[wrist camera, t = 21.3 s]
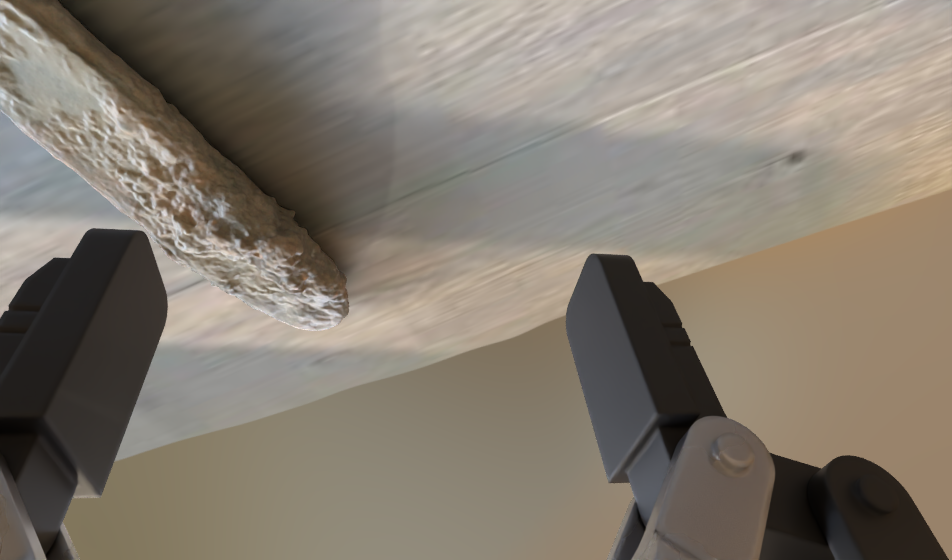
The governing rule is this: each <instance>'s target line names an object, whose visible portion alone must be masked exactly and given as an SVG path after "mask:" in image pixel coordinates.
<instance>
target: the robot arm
mask: <svg viewBox="0 0 952 560" xmlns="http://www.w3.org/2000/svg"><path fill="white" fill-rule="evenodd" d="M167 308H168V303H167V294H166V290H165V287H164V284H163V281H162V278H161V275H160V272H159V269H158V266H157V263H156V260H155V257H154V254H153V251H152V248H151V245H150V242H149V240H148V237H147V235H146V234H145V233H144V232H143V231H138V230H117V229H96V228H93V229H90V230H88V231H87V232H86V233H85V235H84V236H83V238H82V239H81V241H80V243H79V244H78V246H77V248H76V250H75V251H74V253H73V255H72V256H71V258H53V259H52V260H51V261H49V262H48V263H47V264H45V265H44V266H43V267H41V268H40V269H39V270H38V271H36V272H35V273H34V274H32V275H31V276H30V277H28V278H27V279H26V280H25V281H24V283H23V284H22V286H21V287H20V289H19V290H18V292H17V293H16V295H15V297H14V298H13V300H12V301H11V303H10V304H9V310H8V311H5V312H4V313H3V315H2V317H1V318H0V560H80V558H79V556H78V554H77V552H76V550H75V547H74V545H73V543H72V541H71V539H70V536H69V534H68V532H67V529H66V527H65V526H64V524H63V519H64V517H65V514H66V512H67V510H68V507H69V505H70V502H71V500H72V498H96V497H101V495H102V492H103V490H104V487H105V484H106V482H107V479H108V476H109V474H110V471H111V468H112V466H113V463H114V460H115V458H116V455H117V452H118V450H119V447H120V444H121V442H122V439H123V436H124V434H125V431H126V428H127V425H128V423H129V420H130V417H131V415H132V412H133V409H134V407H135V404H136V401H137V399H138V396H139V393H140V391H141V388H142V385H143V383H144V380H145V377H146V375H147V372H148V369H149V367H150V364H151V361H152V359H153V356H154V353H155V351H156V348H157V345H158V342H159V340H160V337H161V334H162V332H163V329H164V326H165V323H166V318H167ZM566 330H567V336H568V340H569V343H570V347H571V350H572V354H573V357H574V361H575V365H576V368H577V372H578V375H579V379H580V382H581V386H582V389H583V393H584V397H585V400H586V404H587V407H588V411H589V415H590V418H591V422H592V425H593V429H594V432H595V436H596V440H597V443H598V447H599V450H600V453H601V457H602V461H603V464H604V468H605V472H606V475H607V479H608V482H609V483H630V485H631V488H632V491H633V494H634V498H633V499H632V500H631V502H630V504H629V506H628V508H627V511H626V513H625V516H624V519H623V521H622V523H621V526H620V528H619V531H618V533H617V536H616V538H615V541H614V543H613V545H612V548H611V551H610V553H609V555H608V558H607V560H949V559H948V558H947V556H946V554H945V553H944V551H943V549H942V548H941V546H940V544H939V543H938V542H937V539H936V538H935V536H934V535H933V533H932V531H931V530H930V528H929V526H928V525H927V523H926V521H925V520H924V518H923V516H922V515H921V513H920V512H919V510H918V508H917V507H916V505H915V503H914V502H913V500H912V498H911V497H910V495H909V494H908V492H907V491H906V490H905V489H904V487H903V486H902V485H901V484H900V483H899V482H898V481H897V480H896V479H895V478H894V477H893V476H892V475H891V474H889V473H888V472H887V471H886V470H884V469H883V468H881V467H880V466H878V465H876V464H874V463H872V462H871V461H868V460H866V459H864V458H860V457H856V456H850V455H849V456H840V457H837V458H835V459H833V460H832V461H831V462H829V463H828V464H827V465H826V466H824V467H823V468H822V469H821V468H818V467H814V466H811V465H808V464H804V463H801V462H797V461H794V460H791V459H788V458H784V457H781V456H778V455H774V454H772V453H769V451H768V450H767V448H766V447H765V445H764V444H763V443H762V441H761V440H760V439H759V438H758V437H757V436H756V435H755V434H754V433H753V432H752V431H750V430H749V429H748V428H747V427H745V426H743V425H742V424H740V423H738V422H736V421H734V420H732V419H729V418H727V416H726V414H725V413H724V411H723V409H722V407H721V405H720V402H719V400H718V398H717V396H716V394H715V392H714V390H713V388H712V386H711V384H710V381H709V379H708V377H707V375H706V373H705V371H704V369H703V367H702V365H701V363H700V360H699V358H698V356H697V354H696V352H695V350H694V348H693V346H690V342H691V341H690V339H689V337H688V335H687V333H686V331H685V329H684V328H682V322H681V320H680V318H679V316H678V314H677V312H676V310H675V307H674V305H673V303H672V302H671V300H670V299H669V298H668V297H667V296H666V295H665V294H664V293H663V292H662V291H661V290H660V289H659V288H658V287H657V286H656V285H655V284H654V283H653V282H643V280H642V278H641V276H640V274H639V271H638V269H637V267H636V265H635V262H634V260H633V259H632V258H631V257H630V256H628V255H611V254H591V255H589V256H588V258H587V260H586V262H585V264H584V267H583V269H582V272H581V274H580V277H579V279H578V282H577V284H576V287H575V289H574V292H573V294H572V297H571V299H570V302H569V304H568V308H567V313H566Z"/></svg>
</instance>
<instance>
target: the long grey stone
mask: <svg viewBox="0 0 952 560" xmlns="http://www.w3.org/2000/svg"><path fill="white" fill-rule="evenodd" d="M0 111H1V112H2V113H4V114H5V115H7V116H8V117H9V118H10V119H11V121H12V122H13V123H14V124H15V125H16V126H18V127H19V129H20V130H21V131H22V132H23V133H24V134H26V135H27V136H29V137H30V138H32V139H33V140H34V141H35V142H36V143H38V144H39V145H40V146H41V147H42V148H44V149H46V150H47V151H48V152H50V153H51V154H52V156H53V157H54V158H56V159H58V160H60V161H62V162H63V163H65V164H66V165H67V166H69V167H70V168H72V169H73V170H74V171H75V172H76V173H78V174H79V175H80V176H81V177H82V178H83V179H84V180H85V181H86V182H88V183H89V184H90V185H91V186H93V187H94V188H95V189H96V190H97V191H98V192H100V193H101V194H102V195H103V196H104V197H106V198H107V199H108V200H109V201H110V202H111V203H112V204H113V205H114V206H115V207H116V208H117V209H118V210H120V211H121V212H122V213H124V214H126V215H128V217H129V218H131V219H133V220H134V221H135V222H136V223H137V224H139V225H140V226H143V227H144V228H145V229H146V230H147V231H148V232H149V234H150V238H151V239H152V240H153V241H154V242H155V243H156V244H158V245H159V246H160V247H161V248H162V250H163V252H164V253H165V254H166V255H167V256H168V258H169V259H171V260H173V261H174V262H177V263H178V264H180V265H182V266H183V267H190V268H191V269H192V271H194V272H196V273H198V274H201V275H202V276H203V277H204V278H206V279H208V280H210V282H211V285H212V286H217V287H219V288H220V289H221V290H224V291H225V292H226V293H228V294H231V295H235V296H236V297H237V298H238V299H240V300H242V301H243V302H244V303H246V304H247V305H249V306H250V307H251V308H253V309H257V310H260V311H262V312H264V313H266V314H267V315H270V316H271V317H273V318H275V319H277V320H279V321H282V322H285V323H286V324H288V325H290V326H294V327H296V328H298V329H304V330H309V331H318V330H325V329H329V328H332V327H333V326H335V325H337V324H339V323H340V322H341V320H342V319H343V318H345V317H346V316H347V315H348V312H349V302H348V299H347V298H348V294H347V289H346V281H347V278H346V276H345V275H344V274H343V273H342V272H339V271H338V270H337V267H336V265H335V263H334V262H333V261H332V259H331V258H329V257H328V256H327V255H326V254H325V253H323V251H322V250H321V249H320V246H319V245H318V244H317V243H315V242H314V241H313V240H312V238H310V237H309V235H308V234H307V230H306V229H305V228H302V227H298V223H297V222H296V221H294V220H293V218H294V216H295V211H293V210H287V209H284V208H282V207H280V206H279V205H278V204H277V202H276V199H275V198H274V197H270V196H267V195H265V194H264V193H263V192H262V191H261V190H260V189H259V188H258V187H257V186H256V185H255V184H254V183H253V182H252V181H251V180H250V179H249V178H248V177H247V176H246V174H245V173H244V172H243V171H241V170H240V169H239V167H238V166H236V165H235V164H232V163H231V161H230V160H228V159H227V158H225V157H224V156H222V155H221V154H220V153H219V151H217V150H216V149H214V148H213V147H212V146H210V145H209V144H208V142H207V141H205V139H204V137H203V136H202V134H201V133H200V132H199V131H198V130H196V129H195V127H194V126H193V125H192V123H191V122H189V121H188V120H187V119H186V118H185V117H184V116H182V115H180V113H179V111H178V109H177V108H176V107H175V106H174V105H172V104H167V103H166V101H165V100H164V98H163V96H162V94H161V93H160V91H159V89H158V88H156V87H154V86H153V85H152V84H150V83H149V82H148V81H146V80H145V79H143V78H142V77H141V76H140V75H139V74H138V73H137V72H136V71H134V70H133V69H132V68H131V67H129V66H128V65H127V64H126V63H125V62H124V61H123V60H122V59H121V58H120V57H119V56H117V55H115V54H114V53H113V52H111V51H110V50H109V49H108V48H107V47H106V46H105V45H104V44H102V43H101V42H100V41H99V40H98V39H96V38H95V37H94V36H93V35H92V34H91V33H90V32H89V31H88V30H87V29H86V28H84V26H83V25H82V24H81V23H80V22H79V21H78V20H77V19H75V18H74V17H73V16H72V15H71V14H70V13H69V12H68V11H67V10H66V9H65V8H63V7H62V6H61V4H60V2H59V1H57V0H0Z"/></svg>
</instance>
